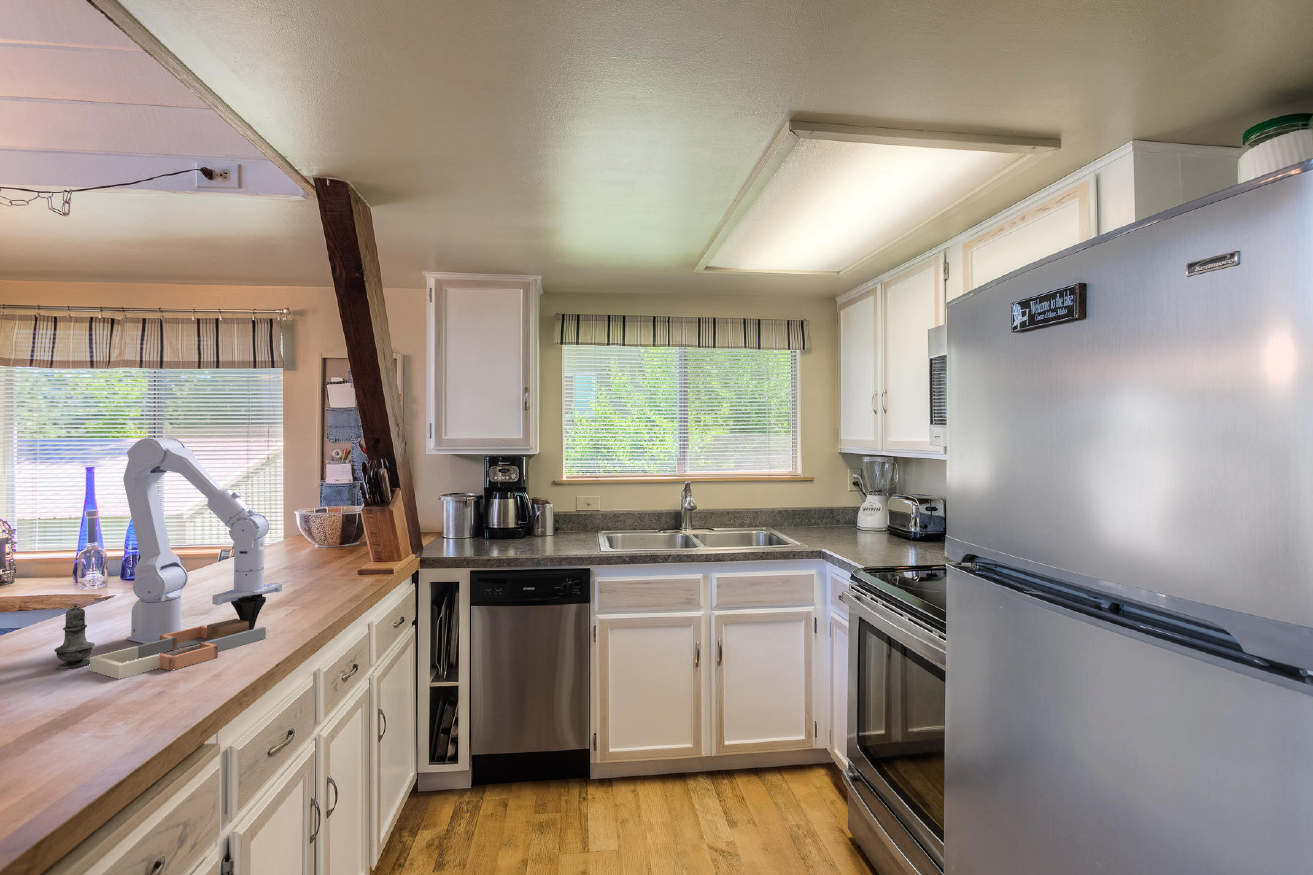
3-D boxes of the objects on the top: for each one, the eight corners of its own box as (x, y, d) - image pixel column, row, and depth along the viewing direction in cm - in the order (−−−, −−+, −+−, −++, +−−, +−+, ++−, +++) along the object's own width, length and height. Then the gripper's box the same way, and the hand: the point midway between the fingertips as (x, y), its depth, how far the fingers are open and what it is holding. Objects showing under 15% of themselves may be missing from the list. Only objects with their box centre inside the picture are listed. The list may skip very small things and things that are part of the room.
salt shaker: (70, 671, 122) (71, 608, 122) (45, 669, 123) (46, 606, 124) (102, 661, 128) (103, 600, 128) (78, 659, 129) (79, 598, 129)
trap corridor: (79, 667, 125) (80, 654, 125) (227, 630, 150) (227, 619, 150) (130, 682, 117) (130, 668, 117) (276, 640, 142) (276, 629, 142)
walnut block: (206, 643, 140) (206, 624, 140) (235, 636, 145) (236, 618, 145) (219, 647, 137) (219, 628, 137) (248, 639, 143) (248, 621, 143)
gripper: (227, 576, 137) (226, 641, 137) (291, 565, 150) (290, 624, 150) (206, 573, 140) (205, 636, 140) (271, 562, 153) (270, 620, 153)
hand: (248, 629), depth 145 cm, fingers closed
